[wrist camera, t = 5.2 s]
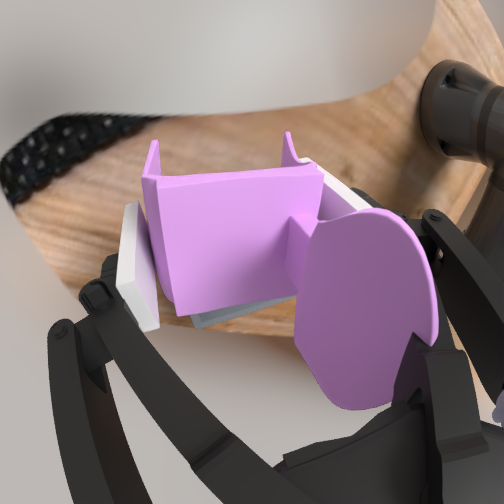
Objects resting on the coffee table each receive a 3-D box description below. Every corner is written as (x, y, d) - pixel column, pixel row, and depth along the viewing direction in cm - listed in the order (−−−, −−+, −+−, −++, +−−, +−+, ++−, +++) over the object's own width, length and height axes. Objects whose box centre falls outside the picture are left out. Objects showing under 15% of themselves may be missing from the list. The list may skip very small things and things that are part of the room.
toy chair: (141, 124, 15) (105, 374, 3) (290, 115, 17) (514, 261, 5) (157, 247, 20) (193, 485, 8) (280, 230, 22) (401, 415, 10)
